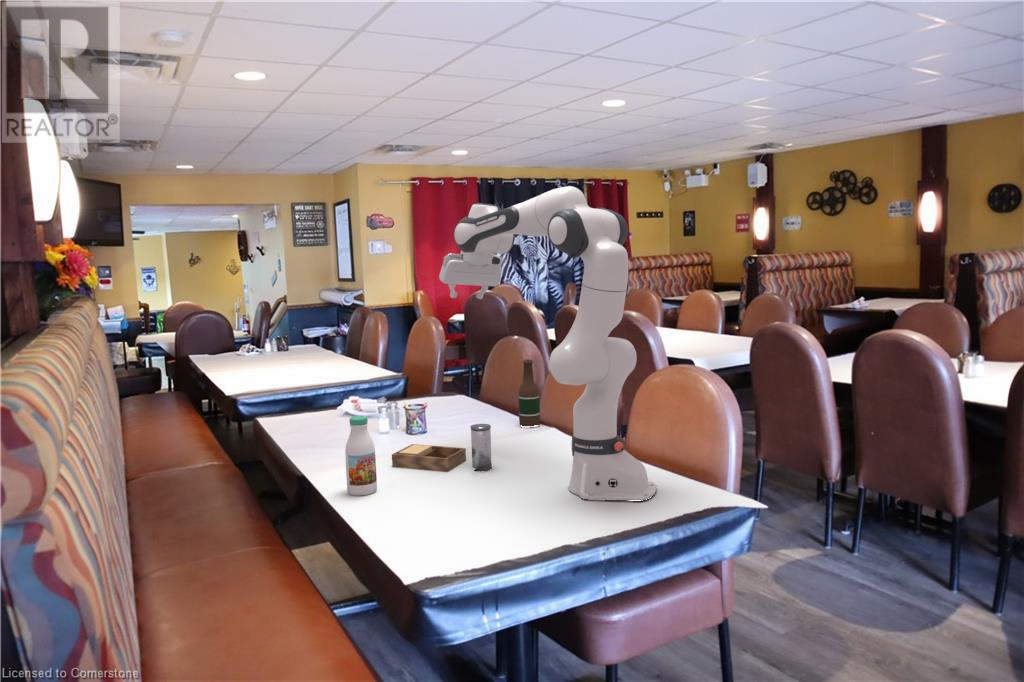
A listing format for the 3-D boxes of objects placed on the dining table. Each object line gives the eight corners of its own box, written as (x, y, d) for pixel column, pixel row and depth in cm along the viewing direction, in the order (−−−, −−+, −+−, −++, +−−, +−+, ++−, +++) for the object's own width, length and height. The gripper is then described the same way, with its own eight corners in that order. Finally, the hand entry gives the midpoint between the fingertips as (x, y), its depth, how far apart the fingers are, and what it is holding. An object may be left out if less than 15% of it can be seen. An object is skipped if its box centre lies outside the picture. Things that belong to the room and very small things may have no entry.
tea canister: (495, 466, 208) (493, 424, 206) (487, 472, 202) (485, 428, 201) (477, 465, 210) (475, 423, 208) (468, 470, 204) (467, 427, 203)
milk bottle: (341, 494, 187) (336, 419, 185) (360, 485, 194) (356, 413, 191) (364, 498, 183) (360, 421, 181) (383, 489, 190) (379, 415, 188)
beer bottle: (516, 428, 255) (514, 361, 252) (522, 423, 262) (520, 358, 259) (537, 428, 252) (535, 361, 250) (542, 423, 260) (541, 358, 257)
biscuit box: (432, 459, 215) (431, 446, 214) (417, 467, 206) (416, 453, 206) (414, 457, 217) (414, 444, 217) (399, 465, 209) (398, 452, 208)
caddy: (466, 463, 212) (465, 448, 212) (447, 474, 201) (447, 459, 201) (413, 458, 219) (412, 444, 218) (392, 469, 208) (391, 454, 207)
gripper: (449, 255, 211) (441, 300, 215) (507, 260, 222) (498, 302, 226) (440, 249, 215) (432, 293, 220) (497, 254, 227) (488, 295, 231)
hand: (466, 297), depth 223 cm, fingers open, 8 cm apart
